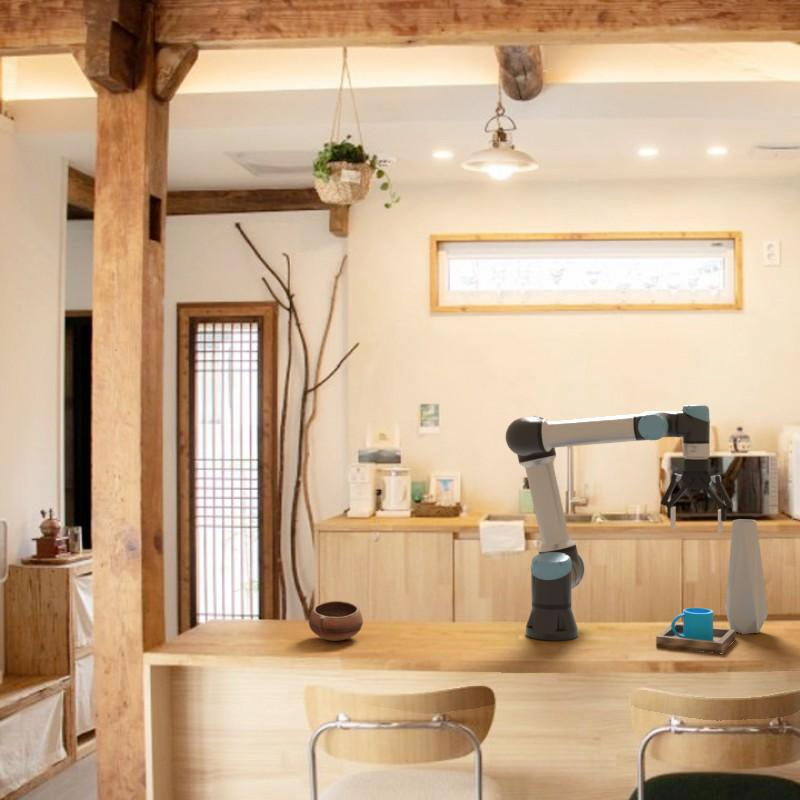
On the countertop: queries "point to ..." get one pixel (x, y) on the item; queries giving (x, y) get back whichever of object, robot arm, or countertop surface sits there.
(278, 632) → the countertop surface
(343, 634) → the bowl
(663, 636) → the tray
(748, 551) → the vase
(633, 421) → the robot arm
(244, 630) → the countertop surface
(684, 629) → the mug
